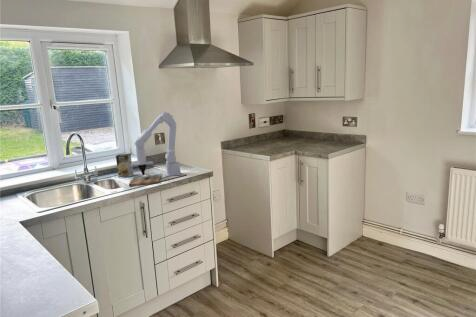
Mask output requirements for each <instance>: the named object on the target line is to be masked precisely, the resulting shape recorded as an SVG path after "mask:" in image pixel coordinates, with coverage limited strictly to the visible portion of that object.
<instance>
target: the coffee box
mask: <svg viewBox="0 0 476 317" xmlns="http://www.w3.org/2000/svg"><path fill="white" fill-rule="evenodd" d="M115 160H116V161H115V162H116V166H117V174H118V178H129V177H128V176H131V177H132V176H133V175H134V169H133V167H131V164H133V163H132V155H131V153H118V154H117V155H115Z"/></svg>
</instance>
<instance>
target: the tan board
mask: <svg viewBox="0 0 476 317" xmlns="http://www.w3.org/2000/svg"><path fill="white" fill-rule="evenodd" d="M149 176H150V178H149V179H147V180H143V179H144V176H143V175H138V176H133V177H132V179H131V180H130V181H129V183H128V187H129V186H130V187H137V186H136V185H139V186H145V185H146V186H147V185H155V184H159V183H160V181H161V177H162V174H161V173H159V174H158V173H157V174H149Z"/></svg>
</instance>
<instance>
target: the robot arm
mask: <svg viewBox="0 0 476 317" xmlns="http://www.w3.org/2000/svg"><path fill="white" fill-rule="evenodd" d="M163 123H165V124H166V125H167V126H168V137H167V138H168V139H167V150H166V153H165V156H164V158H165V160H166V162H165V166H166V168H165V169H166V177H173V176H179V175H180V176H181V172H182V171H181V167H180V166H181V165H180V161H177V160H176V159H177V157H176V151H175V146H176V132H177V130H176V129H177V122H176V121H175V119H174V117H173V115H172V114H171V113H169V112H167V111H162V112H161V113H160V114H159V115H158V116H157V117H156V118H155V120H154V121H153V122H152V123H151V125H150V126H149V127H148V128H147V129H144V130H142V131H141V134H140V135H139V136H137V139H135V140H134V145H135V152H136V159H137V162H134V163H132V164H131V167H132V168H133V167H138V169H139V170H140V172H141V174H142V175H141V176H144V174H145V172H146V168H147V166H149V165H154V162H153V161H152V160H151V161H147V158H146V157H147V156H146V149H145V143H147V142H148V140H150V138H151V137H152V136H153V135H152V133H153V132H154V131H155V129H156V128H157V127H158V126H159V125H160V124H163Z"/></svg>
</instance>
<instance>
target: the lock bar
mask: <svg viewBox="0 0 476 317" xmlns="http://www.w3.org/2000/svg"><path fill="white" fill-rule="evenodd" d="M149 175H150V172H149V171H145V174H144V179H147V178H148V176H149Z"/></svg>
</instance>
